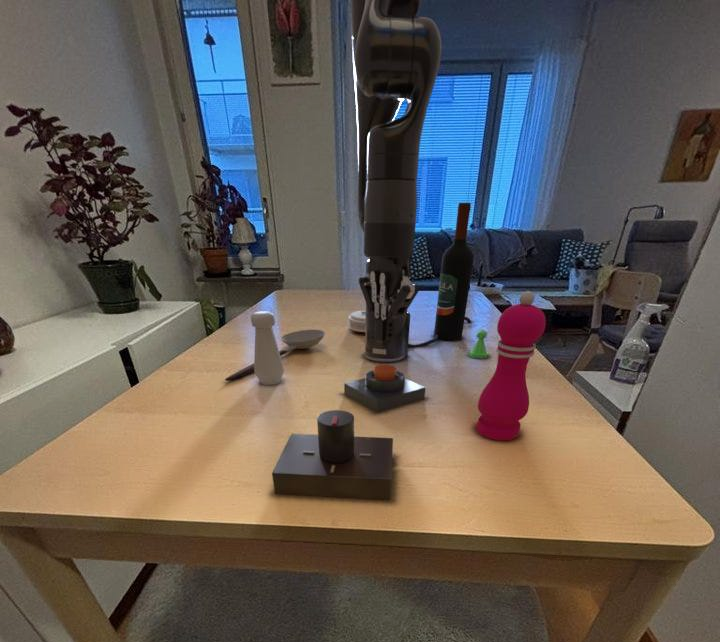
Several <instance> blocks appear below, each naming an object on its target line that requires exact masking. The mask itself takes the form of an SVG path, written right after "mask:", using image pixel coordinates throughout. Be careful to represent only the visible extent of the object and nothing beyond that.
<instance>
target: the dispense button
mask: <svg viewBox="0 0 720 642" xmlns="http://www.w3.org/2000/svg"><path fill="white" fill-rule="evenodd" d="M373 371H374V378H375V379H378V380H393V379H396V371H397V367H396V366H394V365H390V364H378V365H375V366H374V367H373Z"/></svg>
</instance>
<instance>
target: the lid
mask: <svg viewBox="0 0 720 642" xmlns="http://www.w3.org/2000/svg"><path fill="white" fill-rule="evenodd" d="M347 319H348V325H347V328H348V329H349V330H352V331H355V332H360V333H365V321H366V309H365V310H357V311H353V312H351V313H350V314H349V315H348V316H347Z"/></svg>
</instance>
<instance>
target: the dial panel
mask: <svg viewBox="0 0 720 642" xmlns="http://www.w3.org/2000/svg"><path fill="white" fill-rule="evenodd" d="M393 450H394V437H379V436H378V437H376V436H356V435H354V456H353V457H352V458H351V459H350V460H348V461H345V462H340V463H332V462H327V461H325V460H323V459H322V458H321V457H320V455H319V441H318V434H310V433H309V434H308V433H290V436H289V437H288V439H287V441H286V443H285V446H284V448H283V449H282V452H281V454H280V455H279V456H280V457H279V458H278V460H277V462H276V464H275V466H274V468H273V470H272V472H271V475H272V482H273V490H274V494H278V495H296V496H313V497H329V498H330V497H331V498H348V499H350V498H351V499H368V500H387V501H390V500H391V499H392V497H391V496H392V482H393V454H394V453H393Z"/></svg>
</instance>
